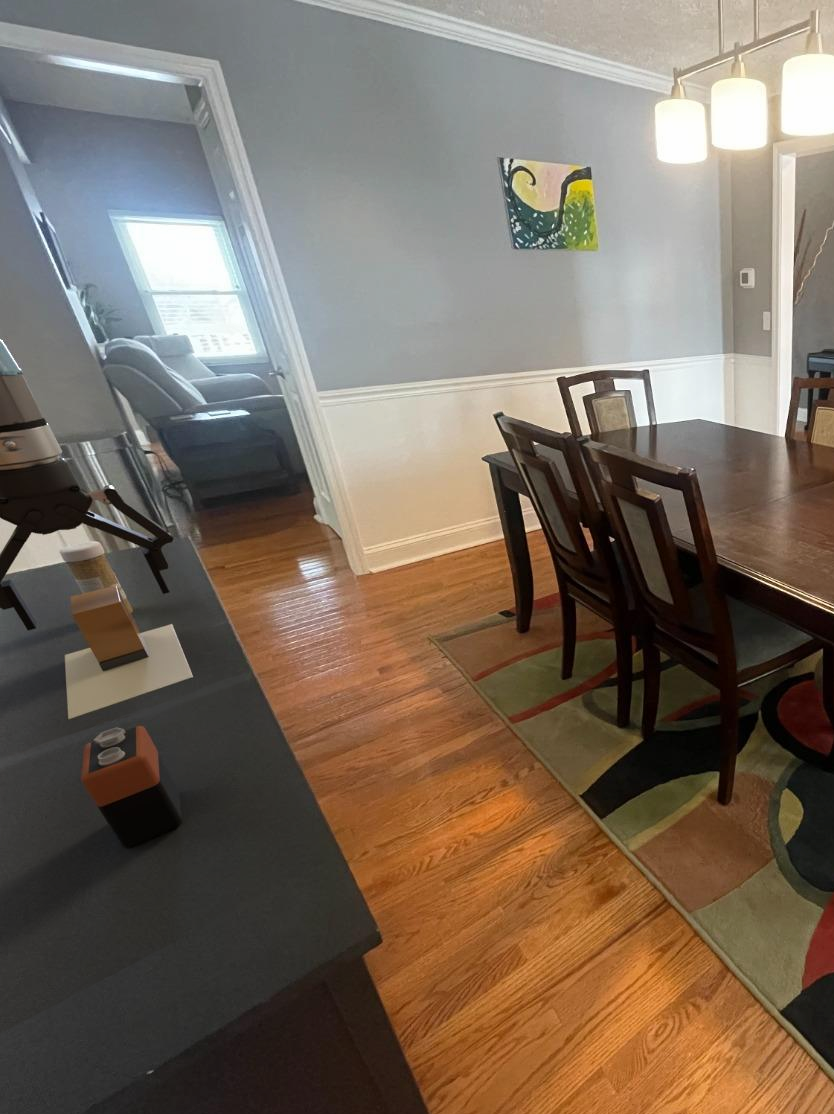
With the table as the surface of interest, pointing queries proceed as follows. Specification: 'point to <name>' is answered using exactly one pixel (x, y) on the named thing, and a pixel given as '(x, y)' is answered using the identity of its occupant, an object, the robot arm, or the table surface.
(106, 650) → the eraser
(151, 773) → the battery
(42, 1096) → the table surface
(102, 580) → the sprinkles bottle
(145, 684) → the board
